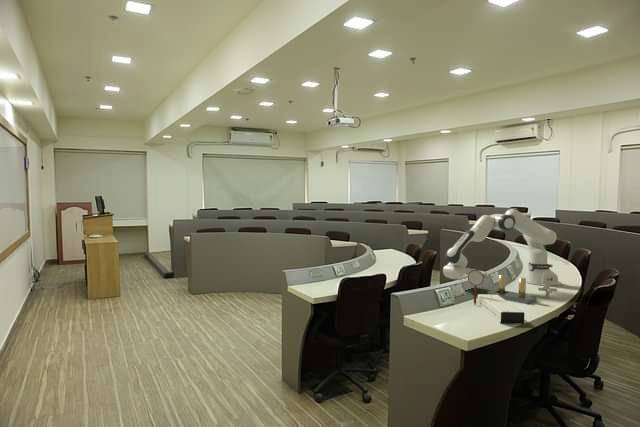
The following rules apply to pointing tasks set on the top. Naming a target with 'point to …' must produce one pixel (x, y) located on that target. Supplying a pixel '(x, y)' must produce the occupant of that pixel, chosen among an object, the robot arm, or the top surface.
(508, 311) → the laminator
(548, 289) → the pipe connector
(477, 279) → the magnifying glass
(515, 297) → the bolt plate
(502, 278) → the brass pin
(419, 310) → the top surface
